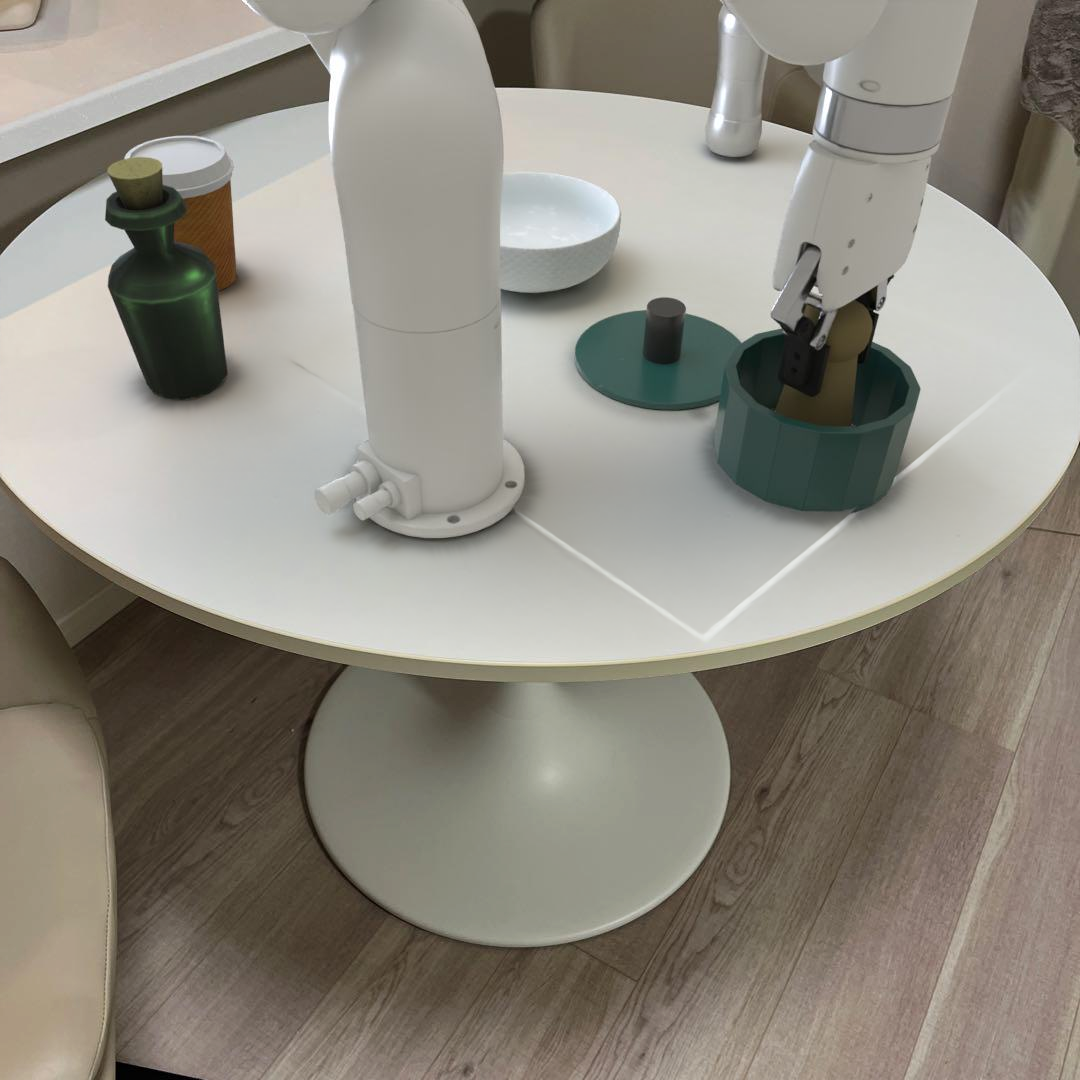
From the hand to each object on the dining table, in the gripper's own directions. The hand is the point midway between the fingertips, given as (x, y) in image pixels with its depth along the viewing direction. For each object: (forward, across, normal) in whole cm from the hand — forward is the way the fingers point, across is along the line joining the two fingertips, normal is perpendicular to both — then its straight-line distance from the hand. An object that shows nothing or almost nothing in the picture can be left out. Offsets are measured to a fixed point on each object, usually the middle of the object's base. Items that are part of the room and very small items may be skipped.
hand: (822, 369), depth 75 cm
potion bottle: (+8, +28, -42) cm, 51 cm away
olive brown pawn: (+6, 0, 0) cm, 6 cm away
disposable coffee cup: (+8, +18, -56) cm, 59 cm away
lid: (+7, -2, -16) cm, 18 cm away
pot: (+8, 0, 0) cm, 8 cm away
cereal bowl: (+8, -5, -35) cm, 36 cm away
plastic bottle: (+8, -43, -40) cm, 59 cm away
